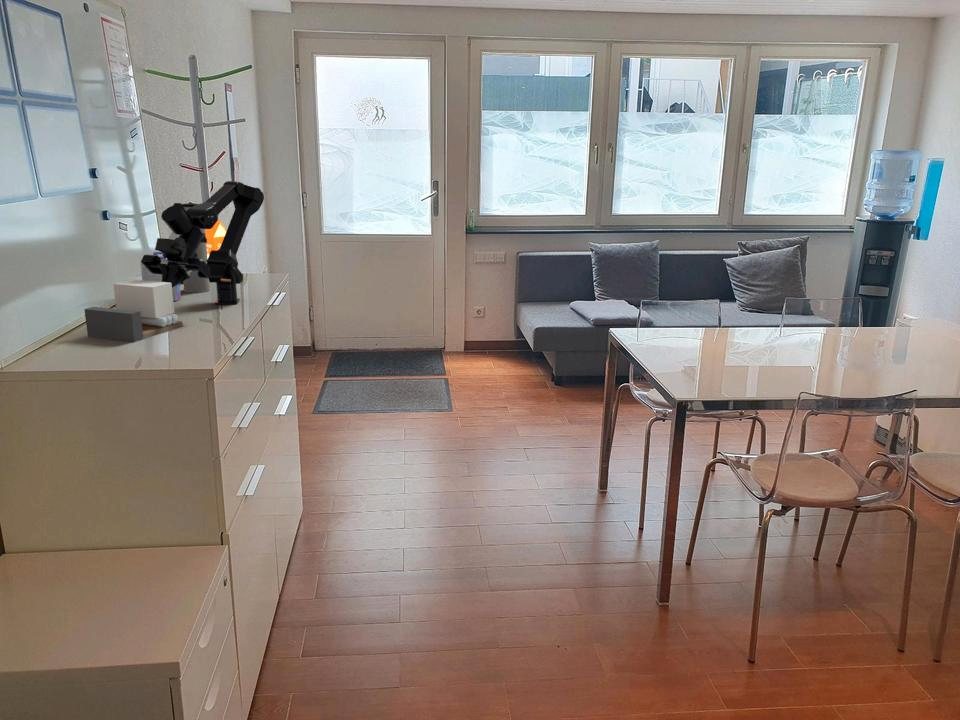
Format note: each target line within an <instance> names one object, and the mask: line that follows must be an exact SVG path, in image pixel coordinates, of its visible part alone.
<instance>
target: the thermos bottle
mask: <svg viewBox="0 0 960 720" xmlns="http://www.w3.org/2000/svg"><path fill="white" fill-rule="evenodd" d="M181 204H182V205H183V207H184V209H185V210H186V211H187V210H188V209H189V208H191V207H193V206H195V205H198V204H199V203H192V202H191V203H189V202H188V203H181ZM200 230H201V232H202V233H205V236H206V231H205V229H200ZM196 254H197V255H198V256H197V258H201V259H203V260H204V262H205V263H206V264H207V262H206V260H207V243H202V242H200V244H199V246H198V249H197V251H196ZM198 272H199V271H194V270H192V272H190V274H189V276H190V278H189V279H186V280H184V281H183V282H184V283H183V289H184V292H186V293H191V294H192V293H193V294H194V293H195V294H196V293H205V292H210V290H211V283H210V282H209V279H208V278H200V277H199V276H198Z"/></svg>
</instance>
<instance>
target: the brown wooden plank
mask: <svg viewBox="0 0 960 720" xmlns="http://www.w3.org/2000/svg"><path fill="white" fill-rule="evenodd" d="M183 326H184V323H183V321H180V320H177V322H176V323H172V324H171V325H166V326H165V327H161V326H151V325H142V331H143V339H142V340H144V339H148V338H150V337H153V336H157V335H161V334H163V333H165V332H169V331H172V330H175V329H178V328H181V327H183Z"/></svg>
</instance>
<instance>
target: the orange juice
mask: <svg viewBox="0 0 960 720" xmlns="http://www.w3.org/2000/svg"><path fill="white" fill-rule="evenodd" d="M205 231H206V238H207V259H208V257H209V254H210V252H211V251H212V250H218V249H220V247H221V244H222V241H223V239H224V236H225V234H226V231H227V229H226V227H225V225H224V224H223V222H221V220H218V221H217V222H216V224H215V225H214V226H213V228H211V229H205Z"/></svg>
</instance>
